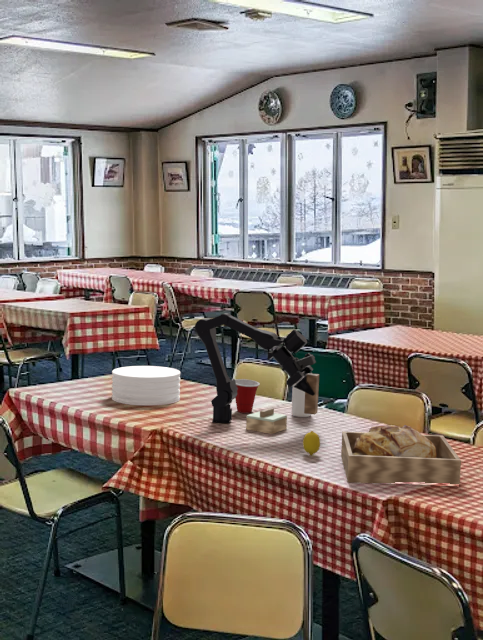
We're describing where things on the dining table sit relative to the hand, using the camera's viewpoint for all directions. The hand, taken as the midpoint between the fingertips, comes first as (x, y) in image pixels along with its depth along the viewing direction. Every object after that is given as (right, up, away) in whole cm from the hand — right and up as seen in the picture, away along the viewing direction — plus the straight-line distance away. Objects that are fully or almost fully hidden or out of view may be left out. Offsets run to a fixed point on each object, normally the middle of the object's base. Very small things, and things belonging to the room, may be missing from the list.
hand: (315, 393), depth 332 cm
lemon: (-4, -17, -33) cm, 38 cm away
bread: (+20, -20, -47) cm, 55 cm away
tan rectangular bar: (-1, -7, +1) cm, 7 cm away
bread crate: (+21, -20, -48) cm, 56 cm away
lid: (-17, -9, +1) cm, 19 cm away
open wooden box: (-18, -13, +1) cm, 22 cm away
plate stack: (-66, -6, +50) cm, 83 cm away
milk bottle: (-3, -11, +26) cm, 29 cm away
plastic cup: (-25, -9, +30) cm, 41 cm away
